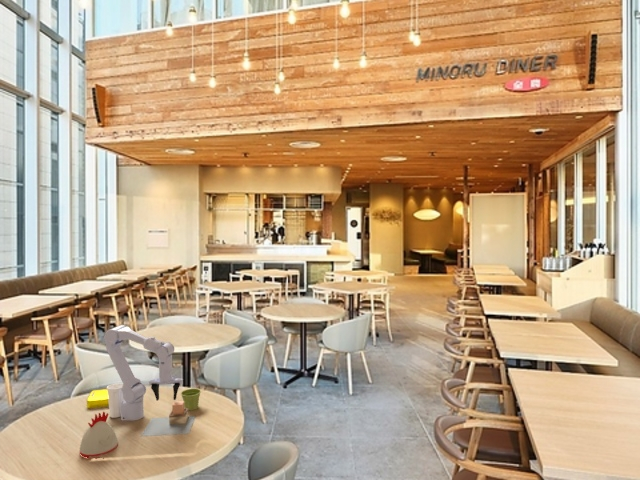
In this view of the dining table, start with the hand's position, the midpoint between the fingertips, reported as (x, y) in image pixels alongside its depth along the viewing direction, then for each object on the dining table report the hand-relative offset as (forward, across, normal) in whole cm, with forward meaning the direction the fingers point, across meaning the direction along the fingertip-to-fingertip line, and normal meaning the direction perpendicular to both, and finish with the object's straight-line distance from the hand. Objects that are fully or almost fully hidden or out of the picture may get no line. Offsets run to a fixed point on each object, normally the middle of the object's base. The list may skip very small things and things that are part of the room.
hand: (166, 399), depth 212 cm
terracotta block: (+6, +6, -2) cm, 9 cm away
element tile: (+11, -37, +28) cm, 48 cm away
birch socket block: (+9, +6, -2) cm, 11 cm away
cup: (+11, -25, +9) cm, 29 cm away
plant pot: (+10, +9, +12) cm, 18 cm away
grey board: (+10, +3, -7) cm, 13 cm away
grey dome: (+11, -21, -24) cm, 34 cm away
